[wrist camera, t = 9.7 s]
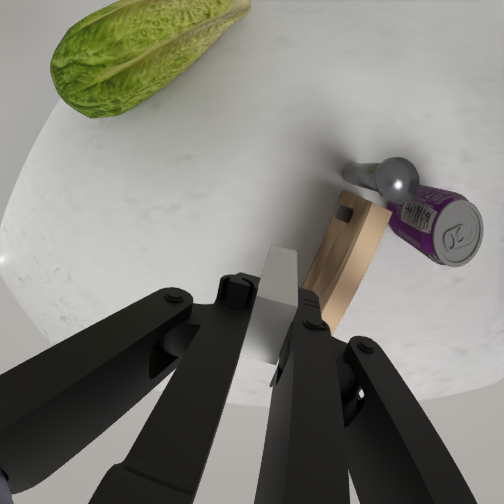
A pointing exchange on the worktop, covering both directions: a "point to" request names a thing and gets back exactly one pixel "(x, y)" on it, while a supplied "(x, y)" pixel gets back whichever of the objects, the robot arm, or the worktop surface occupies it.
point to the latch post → (386, 178)
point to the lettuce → (136, 50)
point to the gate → (345, 254)
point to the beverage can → (439, 225)
